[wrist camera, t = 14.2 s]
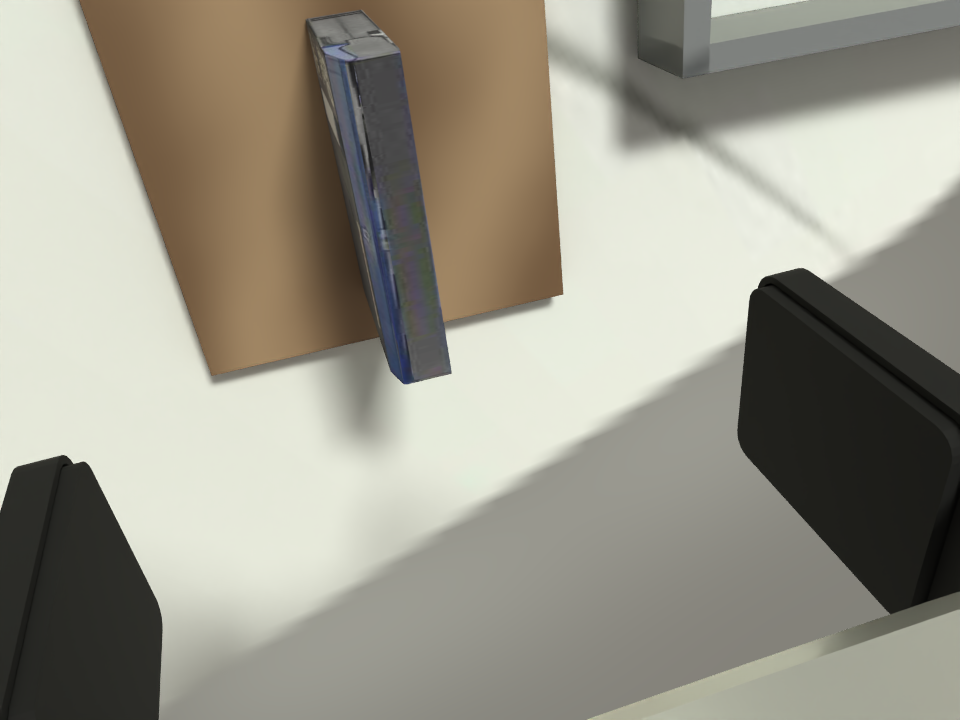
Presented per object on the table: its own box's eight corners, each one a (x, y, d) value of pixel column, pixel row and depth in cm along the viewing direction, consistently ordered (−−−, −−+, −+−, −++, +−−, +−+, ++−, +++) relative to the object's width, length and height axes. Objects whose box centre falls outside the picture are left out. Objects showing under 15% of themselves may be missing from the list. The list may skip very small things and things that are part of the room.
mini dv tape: (305, 18, 21) (327, 62, 17) (360, 8, 22) (399, 49, 17) (363, 290, 26) (395, 389, 21) (409, 279, 26) (452, 375, 21)
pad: (212, 363, 27) (211, 375, 26) (72, -36, 20) (67, -34, 20) (555, 284, 29) (563, 294, 28) (528, -104, 22) (537, -103, 21)
